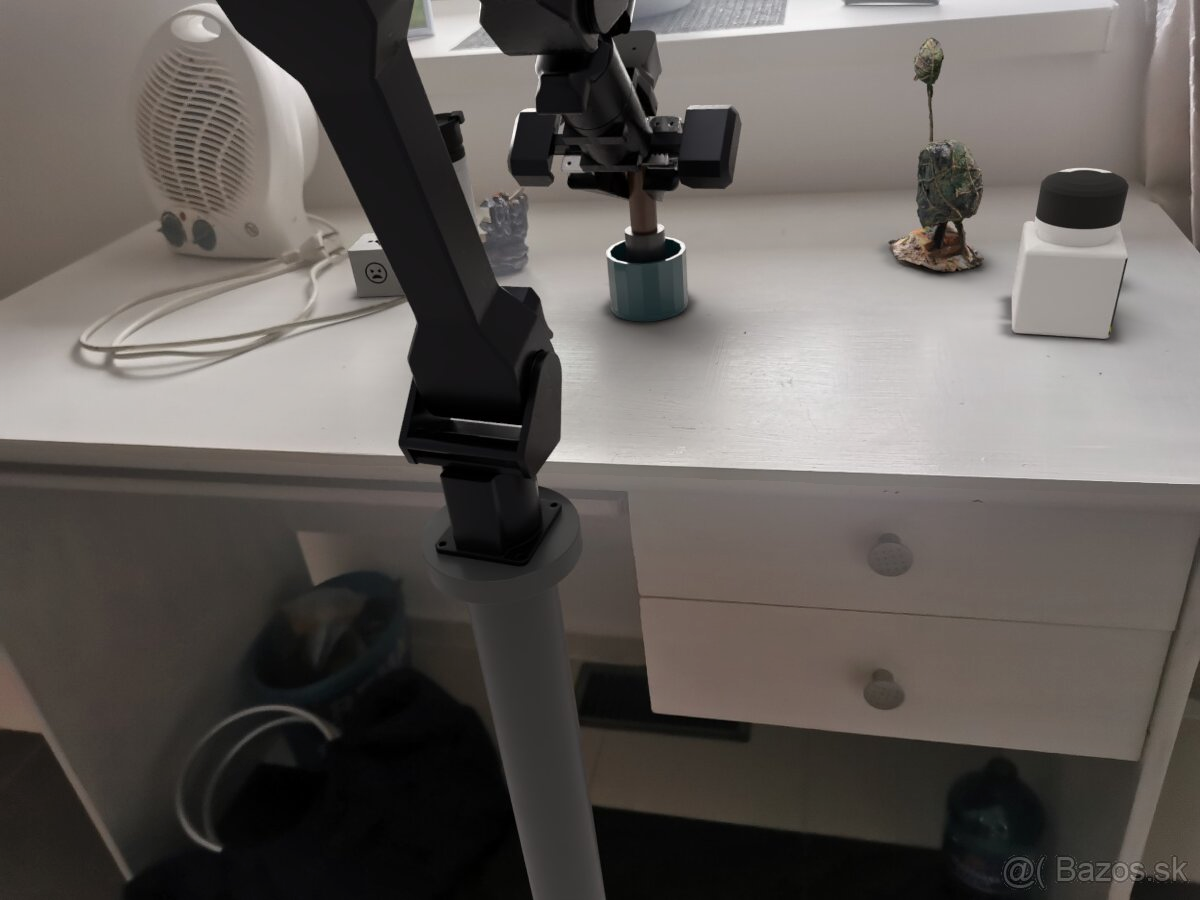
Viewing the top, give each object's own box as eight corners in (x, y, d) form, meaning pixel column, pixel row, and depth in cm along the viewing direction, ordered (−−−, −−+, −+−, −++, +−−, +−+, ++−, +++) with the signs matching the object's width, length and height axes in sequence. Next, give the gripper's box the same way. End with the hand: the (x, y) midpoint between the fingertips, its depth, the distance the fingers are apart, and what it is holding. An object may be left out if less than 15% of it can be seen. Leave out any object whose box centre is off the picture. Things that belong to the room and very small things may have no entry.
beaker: (676, 324, 82) (673, 266, 79) (600, 319, 84) (595, 262, 81) (696, 292, 87) (694, 237, 84) (625, 288, 90) (620, 234, 87)
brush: (674, 270, 83) (668, 148, 77) (644, 281, 82) (635, 158, 76) (650, 261, 86) (642, 142, 80) (620, 272, 84) (609, 151, 78)
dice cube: (405, 295, 93) (394, 248, 91) (358, 296, 94) (347, 250, 91) (419, 276, 97) (409, 231, 95) (374, 278, 98) (364, 233, 96)
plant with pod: (905, 286, 84) (928, 54, 73) (882, 243, 93) (899, 32, 83) (997, 281, 83) (1033, 45, 72) (964, 238, 93) (992, 24, 82)
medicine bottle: (1109, 340, 72) (1144, 189, 65) (1011, 334, 74) (1036, 188, 68) (1101, 304, 77) (1133, 161, 71) (1010, 299, 80) (1033, 161, 73)
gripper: (735, -10, 65) (763, 113, 80) (500, 4, 71) (566, 116, 86) (712, 131, 63) (745, 231, 78) (472, 133, 69) (545, 225, 84)
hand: (647, 196), depth 81 cm, fingers closed on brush, 2 cm apart
